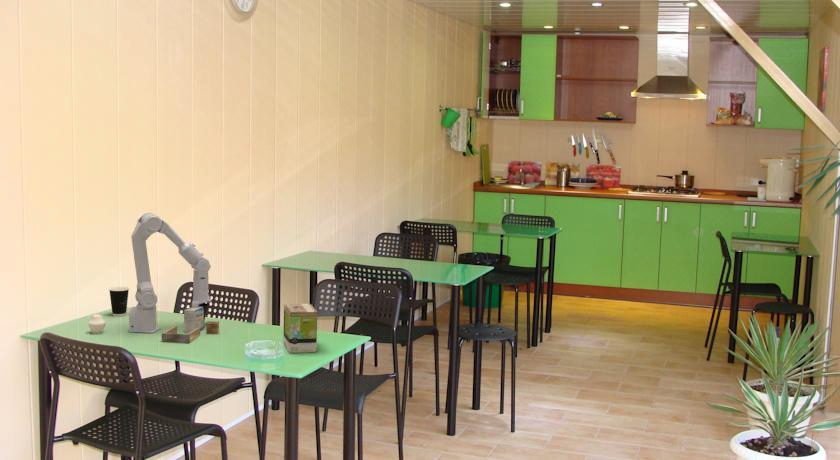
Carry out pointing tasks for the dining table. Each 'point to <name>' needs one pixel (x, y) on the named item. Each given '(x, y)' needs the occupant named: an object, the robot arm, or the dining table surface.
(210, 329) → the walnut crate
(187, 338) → the dock bay
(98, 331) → the cream lidded jar
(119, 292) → the dixie cup
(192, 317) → the medicine box
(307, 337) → the tea box
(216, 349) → the dining table surface
